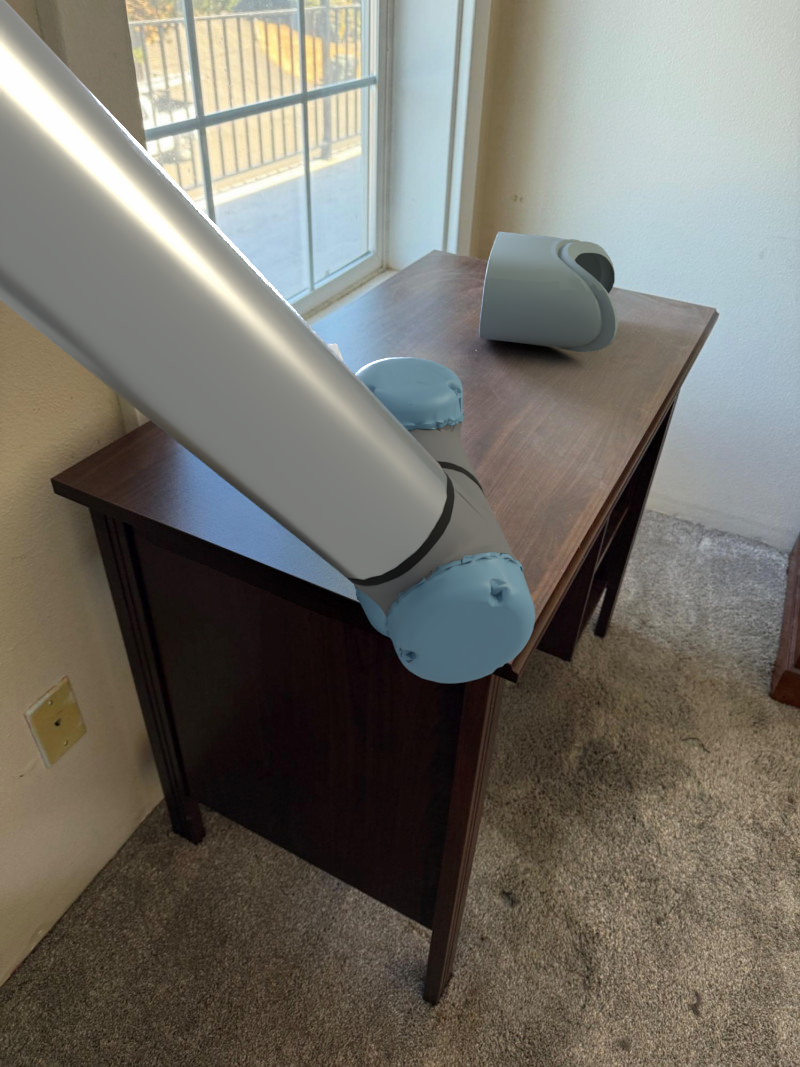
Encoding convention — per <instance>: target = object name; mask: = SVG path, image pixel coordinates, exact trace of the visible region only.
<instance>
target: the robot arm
mask: <svg viewBox="0 0 800 1067" xmlns="http://www.w3.org/2000/svg"><path fill="white" fill-rule="evenodd" d="M0 301H1V302H2V303H3V304H4V305H6V307H8V308H9V309H11V311H13V312H15V313H16V314H17V315H18V316H20V318H22V319H23V320H24V321H26V322H27V323H28V324H30V326H32V327H33V328H34V329H36V330H37V331H38V332H39V333H40V334H42V335H43V336H44V337H46V338H47V339H48V340H49V341H51V343H53V344H55V345H56V347H58V348H59V349H60V350H62V351H63V352H64V353H65V354H66V355H68V356H70V358H72V359H73V360H74V361H76V362H77V363H78V364H79V365H80V366H82V367H83V368H85V369H86V370H87V371H88V372H89V373H90V374H92V375H93V376H94V377H95V378H97V379H98V380H99V381H100V382H102V383H103V384H104V385H105V386H106V387H108V388H109V389H111V390H112V391H113V392H114V393H116V395H118V396H119V397H120V398H122V399H123V400H124V401H125V402H127V403H128V404H129V405H130V406H131V407H133V408H134V409H136V410H137V411H138V413H140V414H142V416H144V417H145V418H147V419H148V420H149V421H150V422H152V423H153V424H154V425H155V426H157V427H158V428H159V429H160V430H162V431H163V432H164V433H165V434H166V435H168V436H169V437H170V438H171V439H173V440H174V441H175V442H176V443H177V444H179V445H180V446H182V447H183V448H184V449H185V450H187V451H188V452H189V453H190V454H192V455H193V456H194V457H195V458H197V459H198V460H199V461H200V462H201V463H203V464H204V465H205V466H207V468H209V469H210V470H212V471H213V472H214V473H215V474H217V475H218V476H219V477H220V478H222V479H223V480H224V481H225V482H226V483H228V484H229V485H230V486H232V487H233V488H234V489H235V490H236V491H238V492H239V493H240V494H241V495H243V496H244V497H245V498H247V500H249V501H250V502H252V503H253V504H254V505H255V506H256V507H258V508H259V509H260V510H261V511H263V512H264V513H265V514H266V515H268V516H269V517H270V518H272V520H274V521H275V522H277V524H279V525H280V526H282V527H283V528H284V529H285V530H286V531H287V532H289V533H290V534H291V535H293V536H294V537H295V538H296V539H297V540H299V541H300V542H301V543H302V544H304V545H305V546H306V547H307V548H308V549H310V550H311V551H312V552H314V553H315V554H316V555H318V556H319V557H320V558H321V559H322V560H324V562H326V563H328V564H329V565H330V566H331V567H333V568H334V569H335V570H336V571H337V572H339V573H340V574H341V575H342V576H343V577H344V578H346V579H347V580H348V581H349V582H350V583H352V584H353V586H354V589H355V598H356V600H357V601H358V602H359V604H360V606H361V608H362V609H363V611H364V614H365V615H366V618H367V620H368V621H369V623H370V625H371V626H372V627H373V628H374V629H375V630H376V631H377V632H378V633H380V634H381V635H383V636H385V637H388V638H389V639H390V640H391V642H392V645H393V648H394V650H395V653H396V654H397V656H398V659H399V661H400V662H401V664H402V665H403V666H404V667H405V668H406V670H407V671H408V672H411V673H412V674H414V675H416V676H417V677H419V678H421V679H424V680H426V681H431V682H435V683H439V684H461V683H467V682H472V681H475V680H479V679H482V678H485V677H487V676H489V675H492V674H493V673H494V672H495V671H496V670H497V669H499V668H502V667H504V665H505V664H509V663H511V662H512V661H513V660H514V659H515V658H516V657H517V656H519V654H520V653H521V652H522V651H523V650H524V649H525V647H526V645H527V644H528V642H529V641H530V639H531V636H532V634H533V631H534V627H535V624H536V609H535V603H534V601H533V598H532V594H531V592H530V590H529V586H528V584H527V580H526V578H525V574H524V569H525V568H524V567H523V565H522V563H521V562H520V561H519V560H518V559H517V558H516V556H515V555H514V552H513V551H512V548H511V547H510V545H509V542H508V541H507V539H506V536H505V534H504V532H503V530H502V528H501V526H500V523H499V522H498V520H497V518H496V516H495V513H494V511H493V509H492V507H491V505H490V503H489V501H488V499H487V496H486V495H485V492H484V490H483V487H482V485H481V483H480V480H479V478H478V476H477V473H476V472H475V470H474V467H473V465H472V463H471V461H470V459H469V456H468V454H467V452H466V450H465V448H464V446H463V444H462V438H461V429H462V425H463V422H464V420H465V417H466V415H465V413H464V406H463V405H464V388H463V385H462V382H461V380H460V378H459V377H458V375H457V374H456V373H455V372H454V371H453V370H451V369H450V368H449V367H447V366H445V365H443V364H441V363H438V362H436V361H433V360H430V359H425V358H421V357H414V356H413V357H412V356H397V357H386V358H381V359H378V360H375V361H372V362H370V363H367V364H365V365H364V366H362V367H361V368H359V369H358V370H357V371H356V372H354V371H353V370H352V369H351V368H350V367H349V366H348V365H347V364H346V363H345V361H344V360H343V361H344V362H343V361H342V360H341V359H340V358H339V357H338V355H337V354H336V353H335V352H334V351H333V350H332V349H331V348H330V347H329V346H328V345H327V344H328V343H326V341H325V340H324V339H323V338H322V337H321V336H320V335H319V334H318V333H317V332H316V331H315V329H313V327H311V325H309V323H308V322H307V321H306V320H305V318H303V317H302V316H301V314H299V312H298V311H297V310H296V309H295V308H294V307H293V306H292V305H291V304H290V303H289V302H288V301H287V299H286V298H284V296H283V295H282V294H280V292H279V291H278V290H277V289H276V288H275V287H274V286H273V284H271V283H270V281H268V280H267V278H266V277H265V276H264V275H263V274H262V273H261V272H260V271H259V270H258V269H257V268H256V267H255V265H253V264H252V262H250V260H249V259H248V258H247V257H246V256H245V255H244V254H243V253H242V251H240V250H239V248H238V247H237V246H236V245H235V244H234V243H233V242H232V241H231V239H229V238H228V237H227V236H226V234H224V232H222V230H221V229H220V228H219V227H218V226H217V225H216V224H215V223H214V222H213V221H212V220H211V219H210V218H209V216H208V215H207V214H206V213H205V212H204V211H203V210H202V209H201V207H199V206H198V205H197V204H196V202H194V200H193V199H192V198H191V197H190V196H189V195H188V194H187V193H186V191H185V190H183V189H182V188H181V186H180V185H179V184H178V183H177V182H176V181H175V180H174V179H173V178H172V177H171V176H170V174H169V173H167V172H166V170H165V169H164V168H163V167H162V166H161V165H160V164H159V163H158V162H157V161H156V160H155V159H154V158H153V157H152V156H151V154H150V153H149V152H148V151H147V150H146V149H145V148H144V147H143V146H142V144H140V143H139V142H138V141H137V140H136V138H134V136H133V135H132V134H131V133H130V132H129V131H128V130H127V129H126V128H125V126H124V125H122V124H121V122H120V121H119V120H118V119H117V118H116V117H115V116H114V115H113V114H112V113H111V112H110V111H109V109H107V107H106V106H105V105H104V104H103V103H102V102H101V101H100V100H99V98H97V97H96V96H95V94H94V93H92V91H91V90H89V88H88V87H87V86H86V85H85V84H84V83H83V82H82V81H81V79H79V78H78V77H77V75H76V74H75V73H74V72H73V71H72V70H71V69H70V68H69V67H68V66H67V64H65V63H64V61H62V59H61V58H60V57H59V56H58V55H57V54H56V53H55V52H54V51H53V50H52V49H51V47H50V46H49V45H48V44H47V43H46V42H45V41H44V40H43V39H42V38H41V36H40V35H38V34H37V32H36V31H34V29H33V28H32V27H31V26H30V24H28V23H27V22H26V21H25V20H24V19H23V18H22V17H21V15H19V13H18V12H17V11H16V10H15V9H14V8H13V6H11V5H10V3H8V1H6V0H0Z"/></svg>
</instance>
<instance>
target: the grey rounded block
mask: <svg viewBox="0 0 800 1067" xmlns="http://www.w3.org/2000/svg"><path fill="white" fill-rule="evenodd" d="M492 244H493V245H492V248H491V250H490V254H489V256H488V261H487V266H486V270H485V276H484V282H483V291H482V296H481V308H480V314H479V326H478V334H479V339H483V340H493V341H501V342H510V343H517V344H526V345H533V346H541V347H548V348H549V347H550V348H558V349H562V350H566V351H570V352H571V351H572V352H577V353H579V352H580V353H592V352H598V351H601V350H604V349H606V348H607V347H609V346H610V345H611V344H613V342H614V341H615V339H616V337H617V334H618V329H619V318H618V315H617V314H618V313H617V309H616V308H615V304H614V302H613V299H612V298H611V296H610V293H611V291H612V289H613V287H614V285H615V280H616V277H615V276H616V275H615V274H616V273H615V267H614V263H613V261H612V259H611V257H610V255H609V254H608V253H607V251H606V250H605V248H603V247H602V246H600V245H599V244H598V243H594V242H592V241H591V242H590V241H584V240H579V239H572V238H571V239H569V238H568V239H567V238H561V237H555V236H547V235H538V234H529V233H520V232H519V233H518V232H506V231H497V233H496V236H495V238H494V242H493V243H492Z"/></svg>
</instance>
